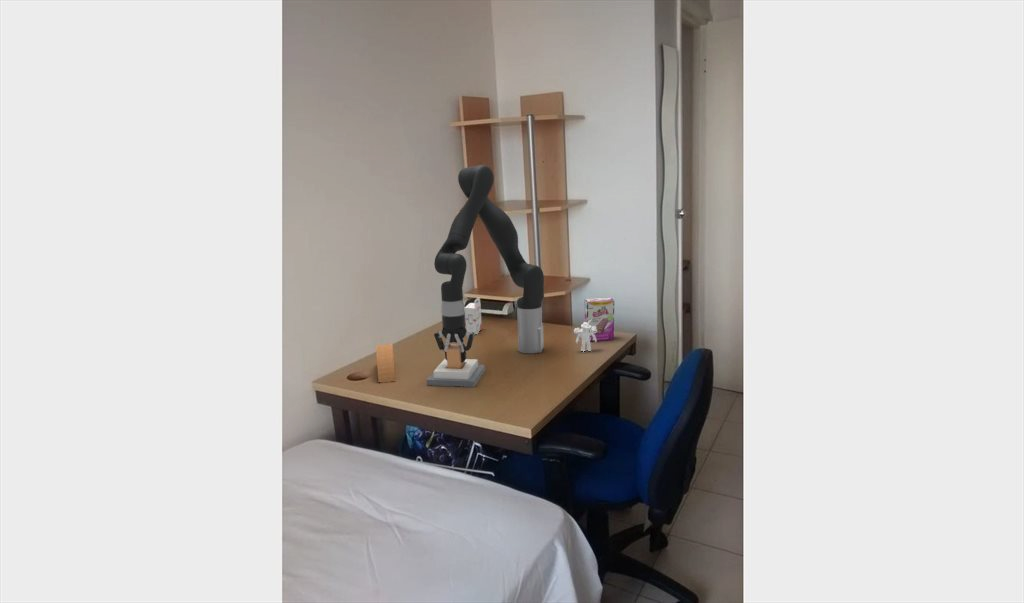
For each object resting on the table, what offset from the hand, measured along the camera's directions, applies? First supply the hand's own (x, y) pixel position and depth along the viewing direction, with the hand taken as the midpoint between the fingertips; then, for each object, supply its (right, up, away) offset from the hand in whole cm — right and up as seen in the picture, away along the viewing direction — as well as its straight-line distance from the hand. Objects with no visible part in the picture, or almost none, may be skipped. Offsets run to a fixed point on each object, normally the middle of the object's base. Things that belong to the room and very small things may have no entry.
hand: (455, 361), depth 216 cm
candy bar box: (+54, +5, +38) cm, 66 cm away
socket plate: (0, -6, +1) cm, 6 cm away
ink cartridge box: (+3, +7, +54) cm, 55 cm away
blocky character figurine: (+47, +1, +25) cm, 53 cm away
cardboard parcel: (0, -3, +1) cm, 3 cm away
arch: (-25, -5, +9) cm, 27 cm away
